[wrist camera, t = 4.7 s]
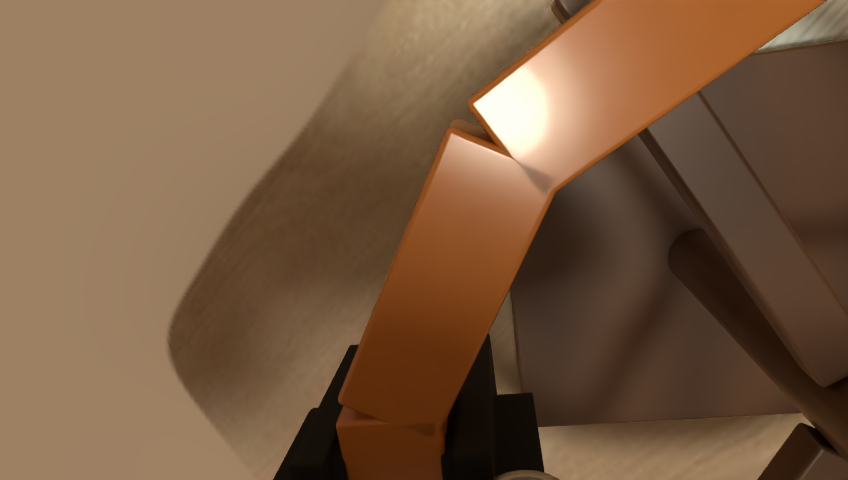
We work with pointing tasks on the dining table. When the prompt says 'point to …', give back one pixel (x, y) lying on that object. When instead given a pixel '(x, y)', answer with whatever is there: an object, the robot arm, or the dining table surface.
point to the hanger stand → (705, 265)
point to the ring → (519, 201)
